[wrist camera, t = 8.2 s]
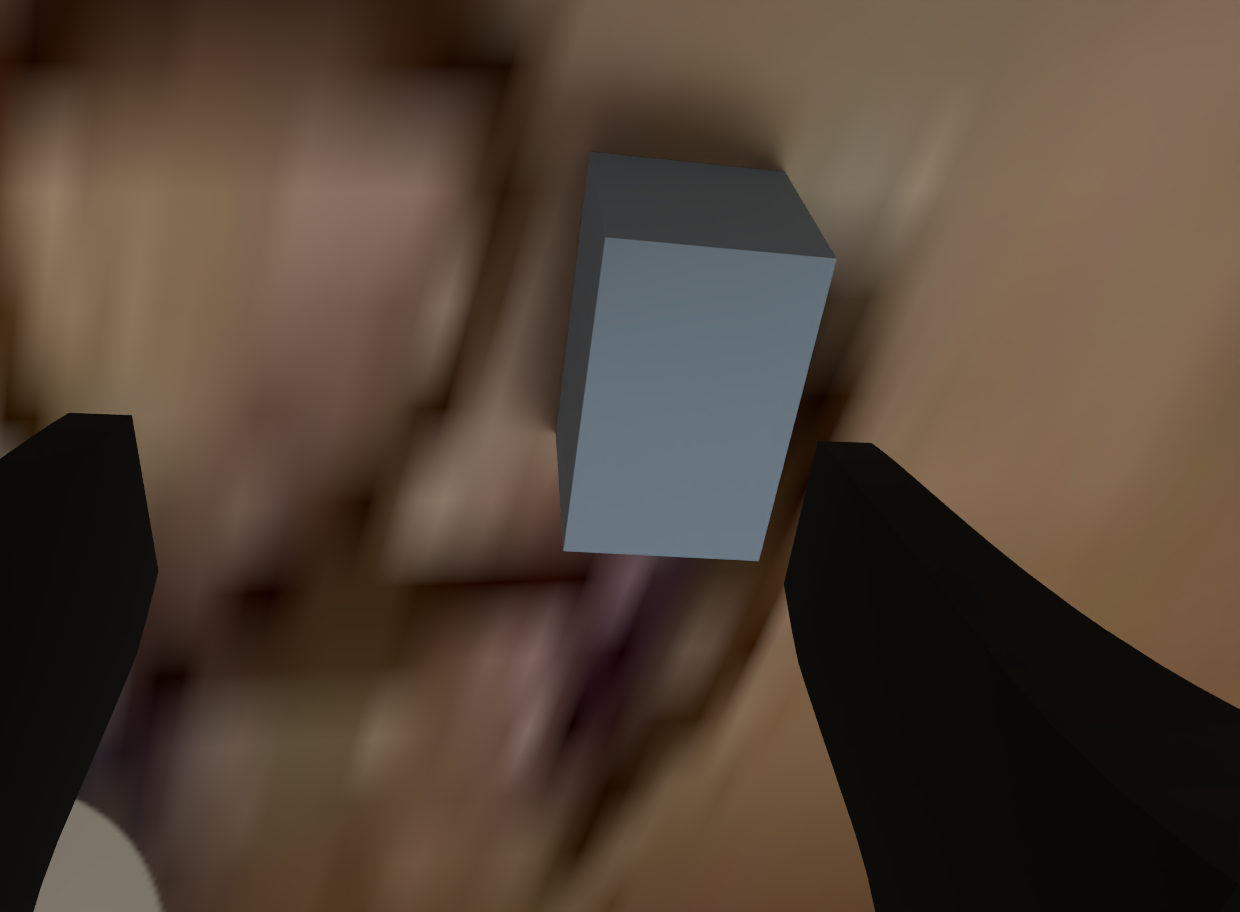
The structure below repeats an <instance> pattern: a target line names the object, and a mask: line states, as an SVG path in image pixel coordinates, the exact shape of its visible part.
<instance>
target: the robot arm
mask: <svg viewBox="0 0 1240 912" xmlns="http://www.w3.org/2000/svg"><path fill="white" fill-rule="evenodd" d="M157 575H158V566H157V560H156V554H155V548H154V542H153V537H152V531H151V525H150V519H149V513H148V507H147V501H146V496H145V490H144V484H143V478H142V472H141V466H140V460H139V455H138V449H137V443H136V437H135V431H134V425H133V419H132V415H111V414H84V413H68V414H66V415H65V416H63V417H61V418H60V419H58V420H56V421H55V422H53V423H52V424H50V425H49V426H47V427H46V428H44V429H43V430H41V431H40V432H38V433H37V434H35V435H34V436H32V437H31V438H29V439H28V440H26V441H25V442H24V443H22V444H21V445H19V446H18V447H16V448H15V449H14V450H12V451H11V452H9V453H8V454H6V455H5V456H4V457H2V458H1V459H0V912H33V911H34V908H35V905H36V901H37V898H38V894H39V891H40V888H41V885H42V882H43V879H44V877H45V874H46V871H47V869H48V866H49V863H50V861H51V858H52V855H53V853H54V850H55V847H56V844H57V842H58V840H59V837H60V835H61V832H62V830H63V828H64V825H65V823H66V821H67V818H68V816H69V814H70V811H71V809H72V807H73V804H74V802H75V800H76V797H77V795H78V793H79V790H80V788H81V786H82V783H83V781H84V779H85V776H86V774H87V772H88V769H89V767H90V765H91V762H92V760H93V758H94V755H95V753H96V751H97V748H98V746H99V744H100V741H101V739H102V737H103V734H104V732H105V730H106V727H107V725H108V723H109V720H110V718H111V715H112V713H113V711H114V708H115V706H116V703H117V701H118V699H119V696H120V694H121V691H122V689H123V687H124V684H125V682H126V679H127V677H128V675H129V672H130V670H131V667H132V665H133V662H134V660H135V657H136V655H137V651H138V648H139V644H140V641H141V637H142V633H143V630H144V626H145V622H146V619H147V615H148V611H149V607H150V603H151V599H152V595H153V591H154V587H155V583H156V579H157ZM784 587H785V593H786V599H787V605H788V611H789V617H790V623H791V628H792V633H793V638H794V643H795V648H796V653H797V658H798V663H799V666H800V669H801V672H802V676H803V679H804V682H805V685H806V688H807V691H808V694H809V697H810V700H811V703H812V706H813V709H814V712H815V715H816V719H817V722H818V725H819V728H820V730H821V733H822V736H823V739H824V742H825V745H826V748H827V751H828V754H829V757H830V760H831V763H832V766H833V769H834V772H835V775H836V778H837V781H838V784H839V787H840V790H841V793H842V796H843V799H844V802H845V804H846V807H847V810H848V813H849V816H850V819H851V822H852V825H853V828H854V831H855V834H856V838H857V841H858V844H859V848H860V851H861V855H862V858H863V862H864V865H865V869H866V872H867V876H868V881H869V885H870V890H871V894H872V899H873V903H874V908H875V912H1240V709H1238V708H1236V707H1234V706H1233V705H1231V704H1229V703H1227V702H1225V701H1223V700H1221V699H1220V698H1218V697H1216V696H1214V695H1212V694H1210V693H1209V692H1207V691H1205V690H1203V689H1201V688H1199V687H1197V686H1196V685H1194V684H1192V683H1191V682H1189V681H1187V680H1185V679H1184V678H1182V677H1180V676H1179V675H1177V674H1175V673H1174V672H1172V671H1170V670H1168V669H1167V668H1165V667H1163V666H1162V665H1160V664H1158V663H1157V662H1155V661H1154V660H1152V659H1151V658H1149V657H1148V656H1146V655H1144V654H1143V653H1141V652H1140V651H1138V650H1137V649H1135V648H1133V647H1132V646H1130V645H1129V644H1127V643H1126V642H1124V641H1123V640H1121V639H1119V638H1118V637H1116V636H1115V635H1113V634H1112V633H1110V632H1108V631H1107V630H1105V629H1104V628H1102V627H1101V626H1099V625H1098V624H1097V623H1095V622H1094V621H1092V620H1091V619H1089V618H1088V617H1086V616H1085V615H1084V614H1082V613H1081V612H1079V611H1078V610H1076V609H1075V608H1074V607H1072V606H1071V605H1070V604H1068V603H1067V602H1066V601H1064V600H1063V599H1062V598H1060V597H1059V596H1058V595H1056V594H1055V593H1054V592H1052V591H1051V590H1050V589H1048V588H1047V587H1046V586H1044V585H1043V584H1042V583H1040V582H1039V581H1038V580H1036V579H1035V578H1033V577H1032V576H1031V575H1030V574H1028V573H1027V572H1026V571H1024V570H1023V569H1022V568H1021V567H1019V566H1018V565H1017V564H1016V563H1014V562H1013V561H1012V560H1011V559H1009V558H1008V557H1007V556H1006V555H1004V554H1003V553H1002V552H1001V551H999V550H998V549H997V548H996V547H995V546H993V545H992V544H991V543H990V542H988V541H987V540H986V539H985V538H984V537H983V536H981V535H980V534H979V533H978V532H977V531H975V530H974V529H973V528H972V527H971V526H969V525H968V524H967V523H966V522H965V521H964V520H962V519H961V518H960V517H959V516H958V515H957V514H955V513H954V512H953V511H952V510H951V509H950V508H948V507H947V506H946V505H945V504H944V503H943V502H941V501H940V500H939V499H938V498H937V497H936V496H935V495H933V494H932V493H931V492H930V491H929V490H928V489H927V488H925V487H924V486H923V485H922V484H921V483H920V482H918V481H917V480H916V479H915V478H914V477H913V476H912V475H910V474H909V473H908V472H907V471H906V470H905V469H903V468H902V467H901V466H900V465H899V464H897V463H896V462H895V461H894V460H893V459H891V458H890V457H889V456H888V455H887V454H885V453H884V452H883V451H881V450H880V449H879V448H877V447H876V446H875V445H873V444H872V443H857V442H830V441H818V442H817V447H816V451H815V455H814V459H813V464H812V468H811V472H810V476H809V480H808V485H807V489H806V493H805V497H804V501H803V506H802V510H801V514H800V518H799V523H798V527H797V531H796V535H795V539H794V544H793V548H792V552H791V556H790V560H789V565H788V569H787V573H786V577H785V582H784Z"/></svg>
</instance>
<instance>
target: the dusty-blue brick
mask: <svg viewBox="0 0 1240 912" xmlns="http://www.w3.org/2000/svg"><path fill="white" fill-rule="evenodd" d="M836 259H837V258H836V257H835V255H834V253H833V252H832V250H831V248H830V247H829V245H828V243H827V242H826V240H825V238H824V237H823V235H822V233H821V232H820V230H819V228H818V227H817V225H816V223H815V222H814V220H813V218H812V216H811V215H810V213H809V211H808V210H807V208H806V206H805V205H804V203H803V201H802V200H801V198H800V196H799V195H798V193H797V191H796V190H795V188H794V186H793V185H792V183H791V181H790V180H789V178H788V176H787V175H786V173H785V172H783V171H773V170H763V169H754V168H744V167H734V166H725V165H715V164H705V163H695V162H686V161H676V160H666V159H657V158H647V157H637V156H627V155H618V154H608V153H598V152H589V160H588V168H587V177H586V185H585V193H584V202H583V210H582V219H581V227H580V235H579V244H578V252H577V260H576V269H575V277H574V285H573V294H572V302H571V310H570V319H569V327H568V335H567V344H566V352H565V360H564V369H563V377H562V385H561V394H560V402H559V410H558V419H557V427H556V445H557V460H558V475H559V491H560V506H561V521H562V536H563V551H573V552H593V553H612V554H632V555H651V556H671V557H690V558H710V559H729V560H749V561H759V558H760V554H761V550H762V546H763V542H764V538H765V534H766V531H767V527H768V523H769V519H770V515H771V511H772V507H773V503H774V500H775V496H776V492H777V488H778V484H779V480H780V476H781V472H782V469H783V465H784V461H785V457H786V453H787V449H788V445H789V441H790V438H791V434H792V430H793V426H794V422H795V418H796V414H797V411H798V407H799V403H800V399H801V395H802V391H803V387H804V383H805V380H806V376H807V372H808V368H809V364H810V360H811V356H812V352H813V349H814V345H815V341H816V337H817V333H818V329H819V325H820V321H821V318H822V314H823V310H824V306H825V302H826V298H827V294H828V290H829V287H830V283H831V279H832V275H833V271H834V267H835V263H836Z"/></svg>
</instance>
